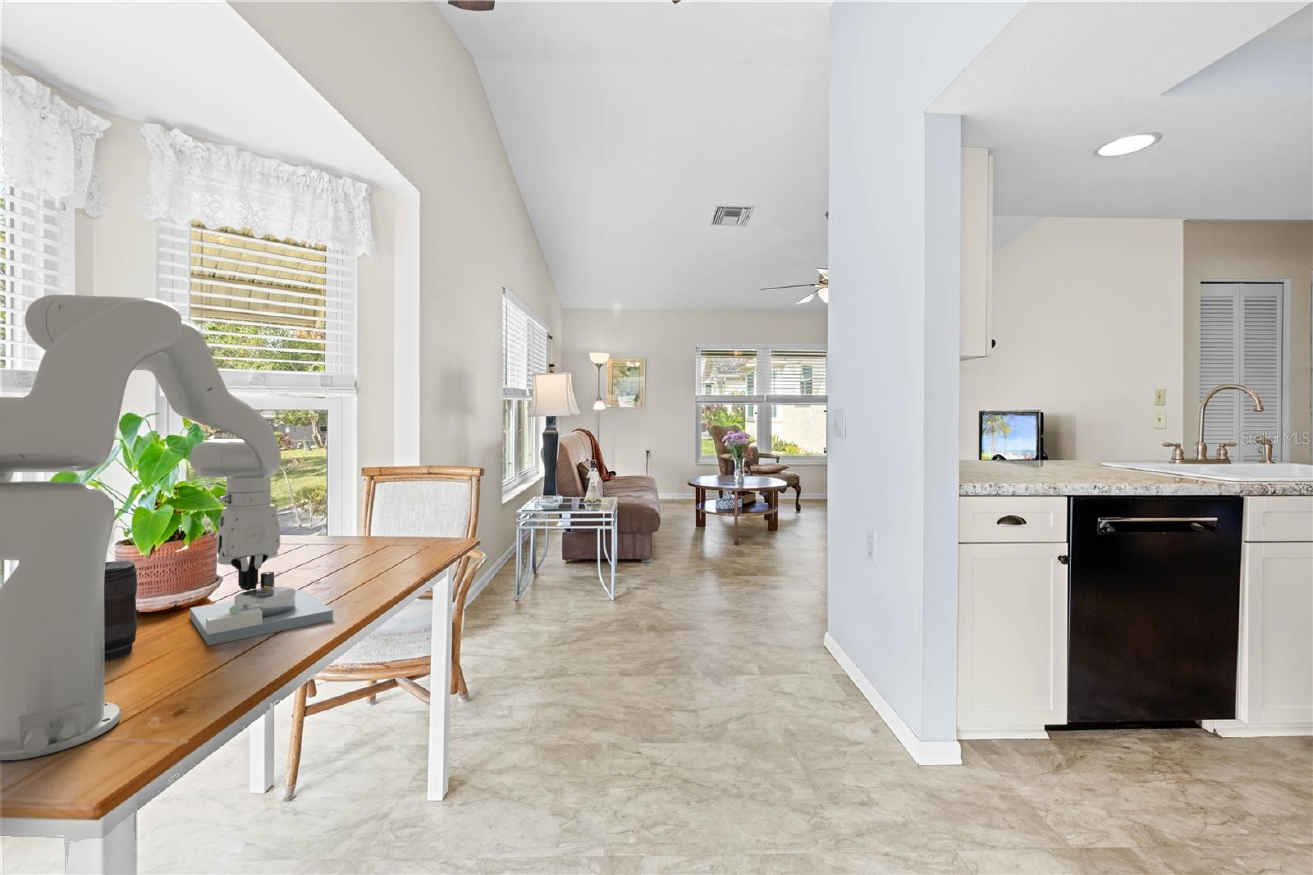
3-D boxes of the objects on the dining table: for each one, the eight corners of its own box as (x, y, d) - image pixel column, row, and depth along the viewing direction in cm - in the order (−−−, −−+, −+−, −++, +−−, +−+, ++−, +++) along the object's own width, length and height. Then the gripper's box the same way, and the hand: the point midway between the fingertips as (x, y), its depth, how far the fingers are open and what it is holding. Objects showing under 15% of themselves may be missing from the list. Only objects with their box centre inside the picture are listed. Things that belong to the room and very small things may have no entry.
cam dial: (295, 612, 115) (295, 585, 115) (232, 620, 110) (232, 592, 110) (295, 593, 128) (295, 569, 128) (238, 599, 122) (238, 574, 122)
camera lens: (61, 659, 97) (61, 568, 96) (124, 643, 104) (124, 558, 104) (83, 669, 93) (82, 574, 93) (146, 652, 100) (146, 564, 100)
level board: (333, 620, 118) (333, 590, 118) (208, 645, 103) (208, 611, 103) (303, 598, 132) (303, 571, 132) (189, 618, 118) (189, 588, 117)
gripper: (215, 504, 113) (214, 600, 113) (296, 497, 126) (295, 583, 126) (197, 501, 117) (197, 594, 117) (278, 495, 130) (277, 578, 130)
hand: (248, 588), depth 122 cm, fingers closed
